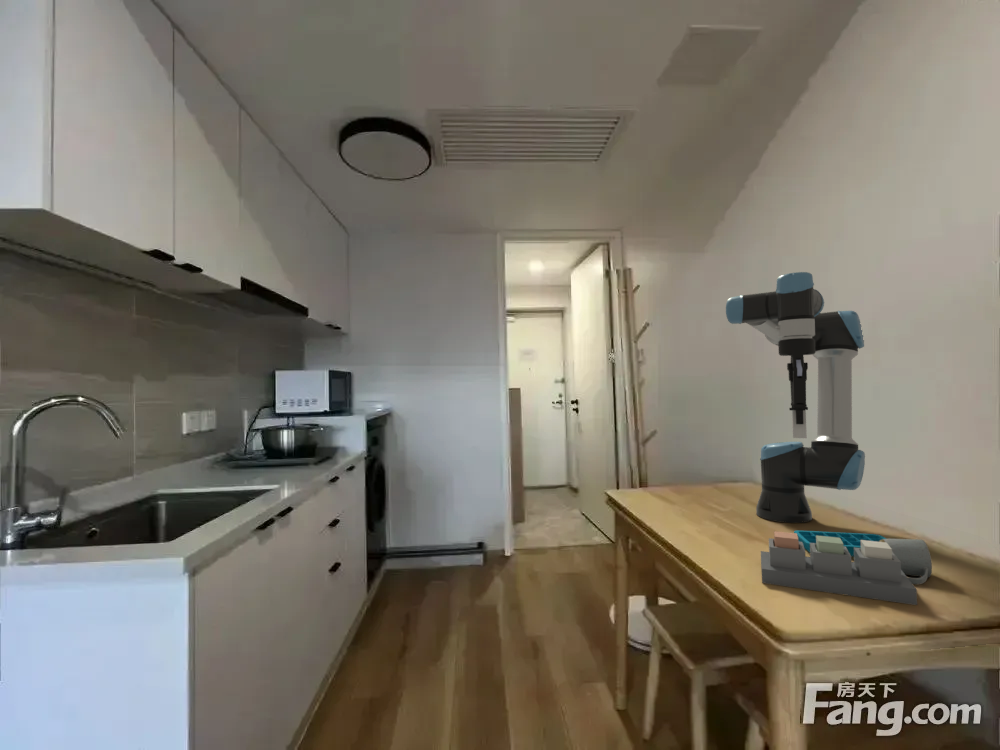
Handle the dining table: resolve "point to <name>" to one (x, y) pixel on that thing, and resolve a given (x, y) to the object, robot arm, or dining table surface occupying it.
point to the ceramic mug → (912, 557)
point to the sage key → (829, 544)
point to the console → (837, 573)
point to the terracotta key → (786, 540)
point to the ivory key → (876, 549)
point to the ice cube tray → (847, 538)
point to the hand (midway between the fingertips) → (799, 437)
